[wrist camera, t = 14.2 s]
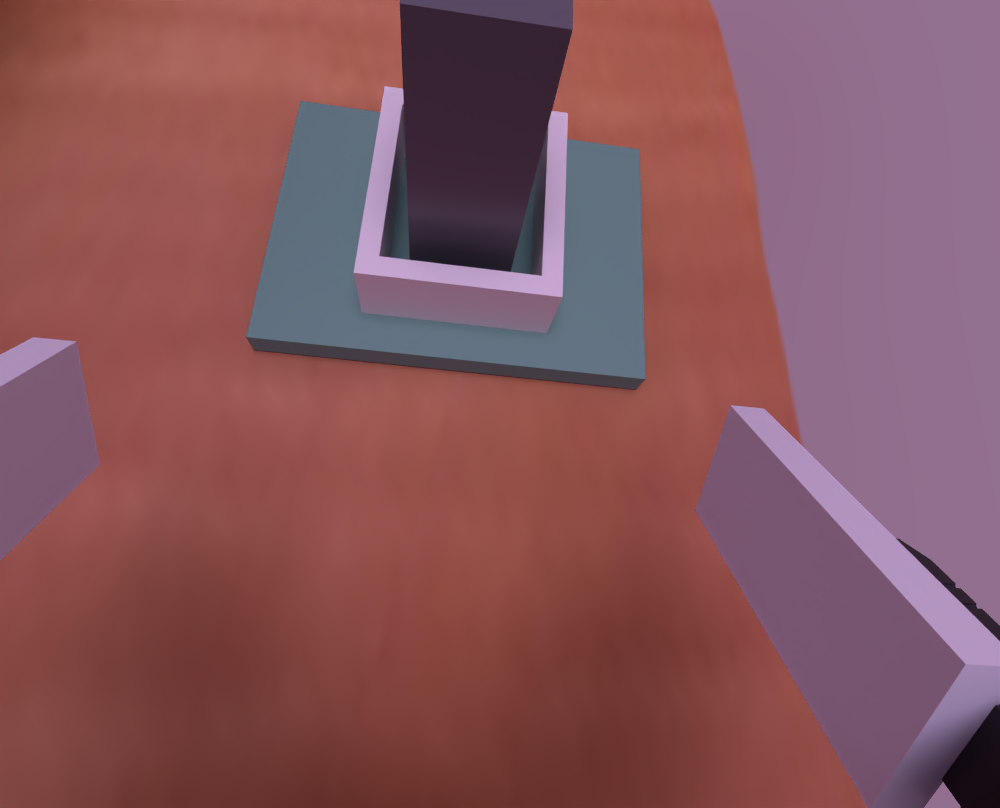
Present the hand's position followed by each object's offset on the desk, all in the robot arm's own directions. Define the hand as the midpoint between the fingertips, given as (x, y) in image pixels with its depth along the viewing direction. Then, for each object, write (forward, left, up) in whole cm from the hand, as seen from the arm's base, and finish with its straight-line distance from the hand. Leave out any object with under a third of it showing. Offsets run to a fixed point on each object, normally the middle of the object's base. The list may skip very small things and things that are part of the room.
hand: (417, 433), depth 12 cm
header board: (-3, +12, -11) cm, 16 cm away
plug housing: (-3, +12, -10) cm, 16 cm away
